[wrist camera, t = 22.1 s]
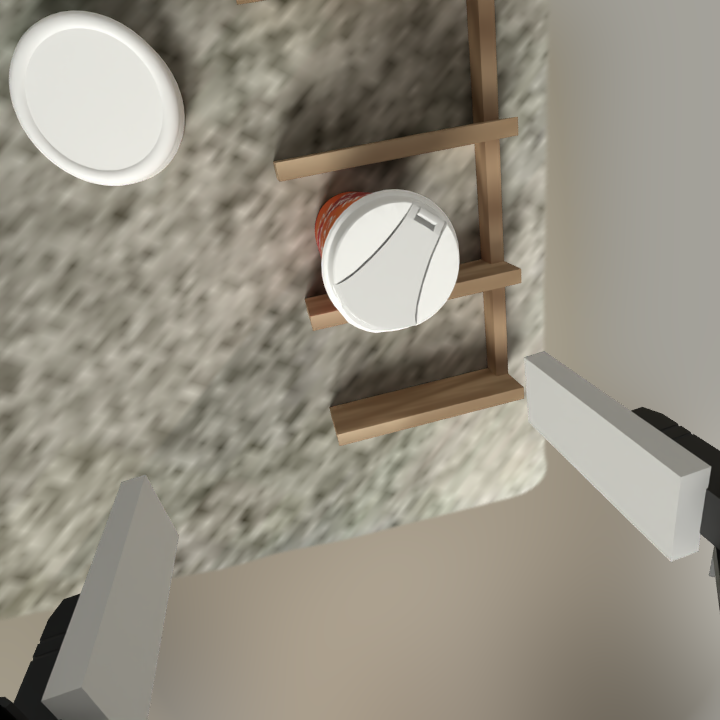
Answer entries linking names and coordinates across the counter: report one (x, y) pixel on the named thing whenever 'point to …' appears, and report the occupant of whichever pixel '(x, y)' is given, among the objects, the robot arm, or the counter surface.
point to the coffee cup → (386, 257)
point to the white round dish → (96, 98)
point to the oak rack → (472, 276)
